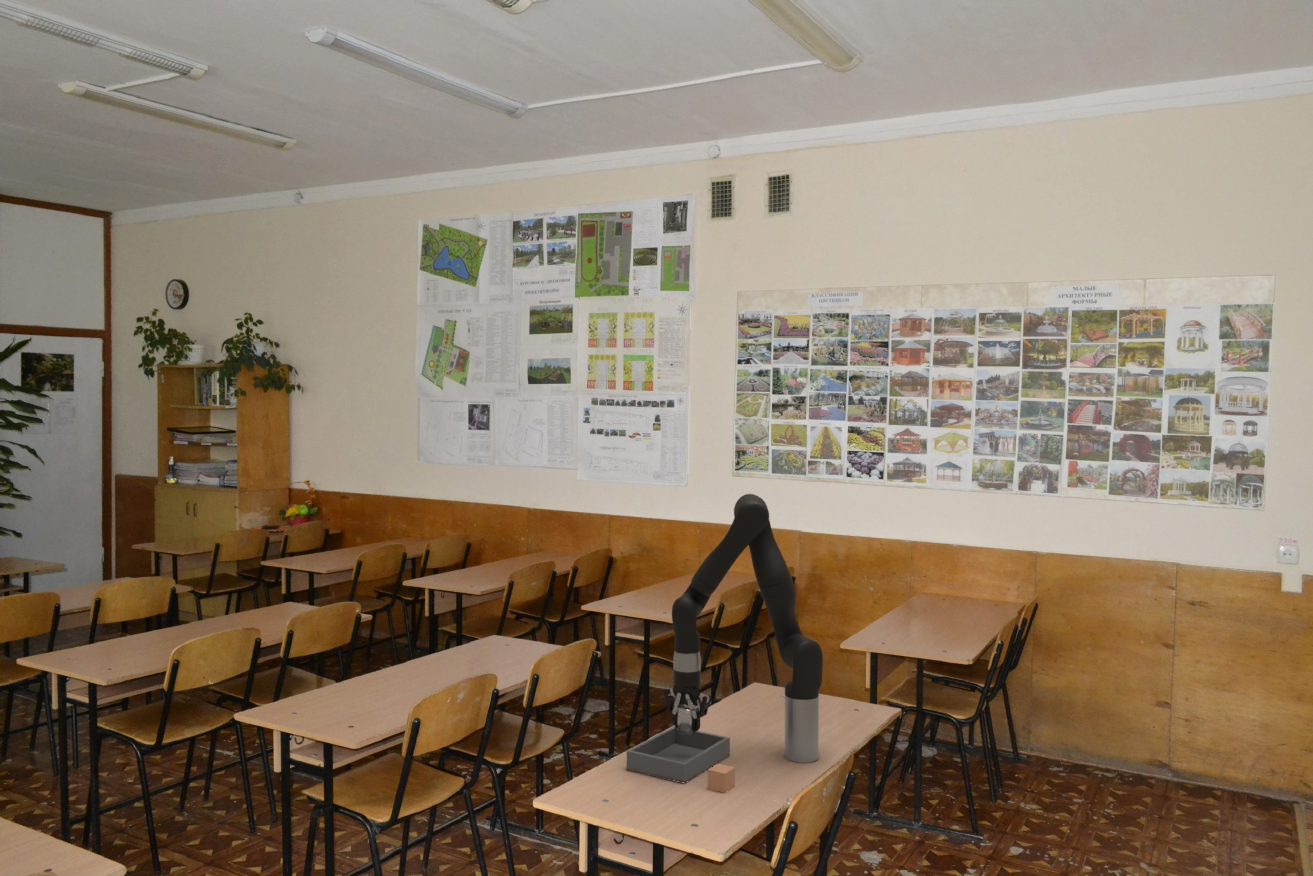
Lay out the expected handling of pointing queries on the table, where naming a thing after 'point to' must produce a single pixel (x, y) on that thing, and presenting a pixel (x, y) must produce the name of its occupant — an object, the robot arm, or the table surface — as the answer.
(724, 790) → the cube
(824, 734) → the table surface
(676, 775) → the tote
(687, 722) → the cylinder
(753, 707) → the table surface
